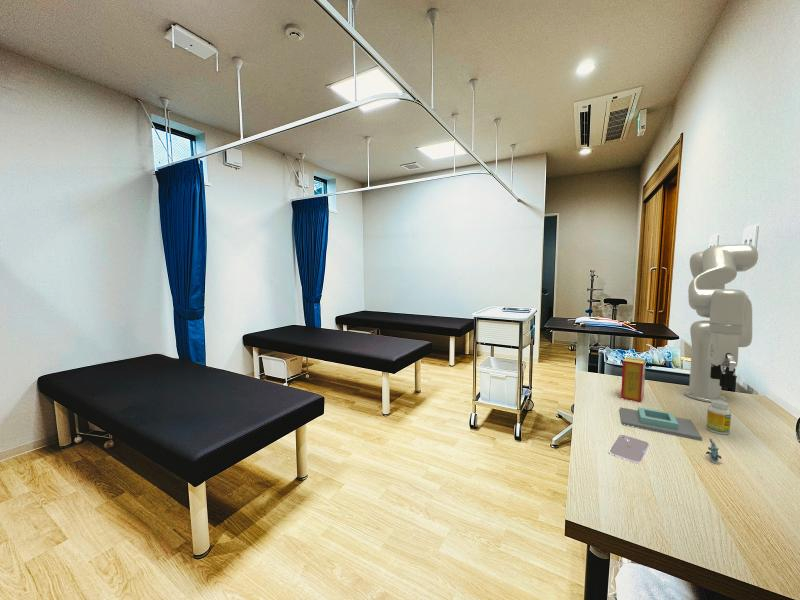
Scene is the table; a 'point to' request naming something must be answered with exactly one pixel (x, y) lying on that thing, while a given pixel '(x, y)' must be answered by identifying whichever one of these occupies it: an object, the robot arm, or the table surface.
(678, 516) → the table surface
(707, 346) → the robot arm
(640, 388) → the baking soda box
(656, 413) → the cup stand
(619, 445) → the mobile phone
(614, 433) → the table surface
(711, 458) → the sculpture
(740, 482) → the table surface
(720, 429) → the supplement bottle
